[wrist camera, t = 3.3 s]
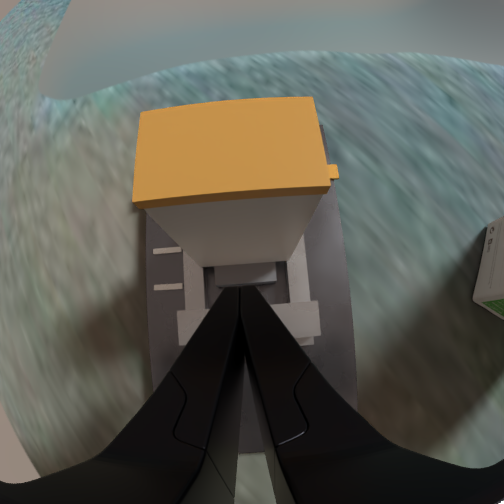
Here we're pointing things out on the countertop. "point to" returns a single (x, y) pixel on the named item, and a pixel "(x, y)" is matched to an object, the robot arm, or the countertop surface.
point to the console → (277, 295)
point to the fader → (233, 181)
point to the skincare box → (492, 271)
